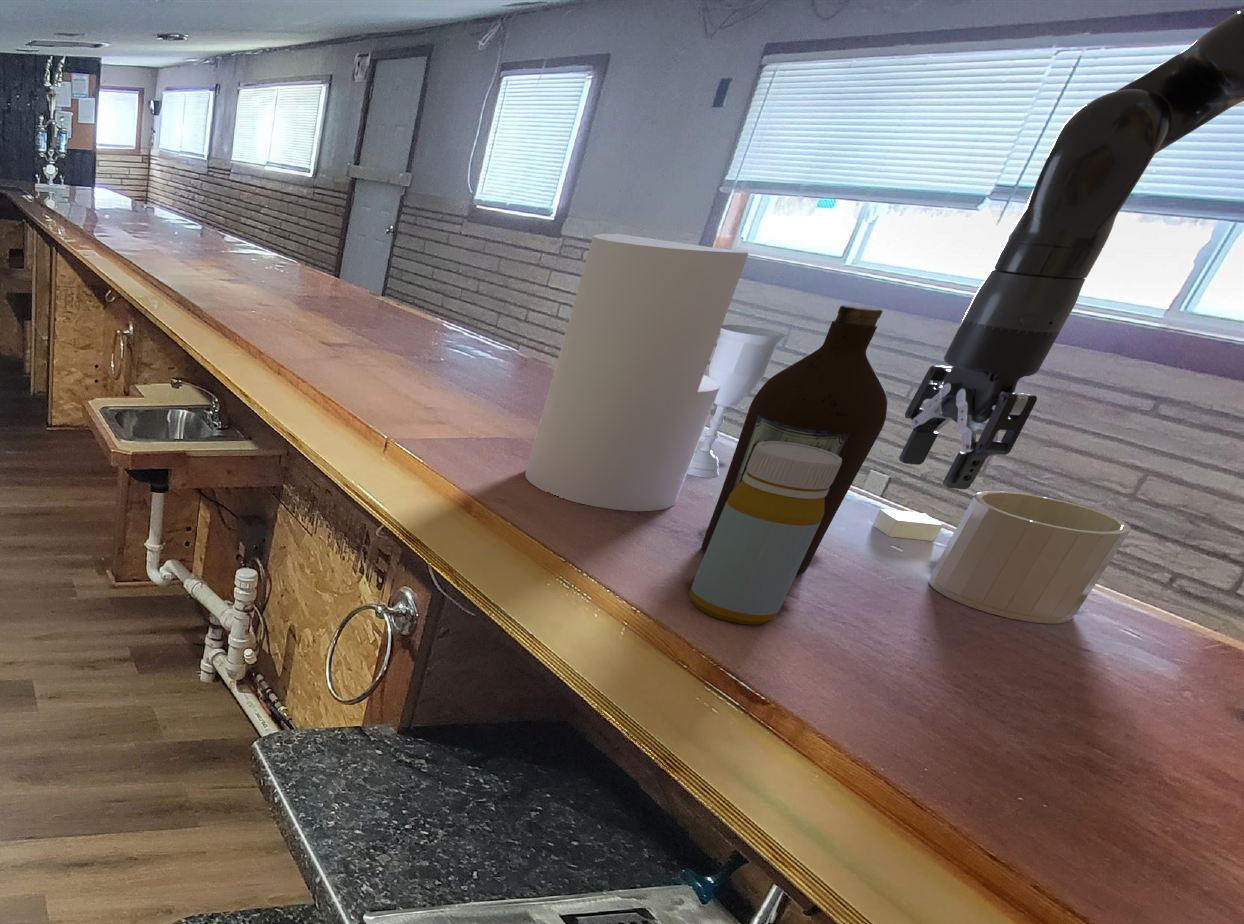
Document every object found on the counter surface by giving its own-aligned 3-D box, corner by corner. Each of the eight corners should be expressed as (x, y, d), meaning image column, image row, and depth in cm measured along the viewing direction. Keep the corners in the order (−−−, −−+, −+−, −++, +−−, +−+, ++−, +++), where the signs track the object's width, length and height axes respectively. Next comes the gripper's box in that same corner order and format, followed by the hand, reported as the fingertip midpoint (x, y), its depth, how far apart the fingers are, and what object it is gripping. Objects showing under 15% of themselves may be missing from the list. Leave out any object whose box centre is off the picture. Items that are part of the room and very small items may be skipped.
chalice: (741, 479, 118) (800, 336, 109) (697, 481, 116) (753, 336, 107) (697, 461, 124) (750, 324, 115) (655, 463, 123) (705, 324, 114)
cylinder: (593, 516, 104) (682, 252, 90) (495, 467, 118) (559, 233, 104) (710, 505, 108) (812, 253, 94) (602, 460, 123) (677, 234, 109)
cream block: (916, 529, 104) (925, 513, 103) (934, 541, 101) (943, 524, 100) (871, 525, 105) (880, 508, 104) (888, 536, 102) (897, 520, 101)
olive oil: (712, 531, 101) (809, 294, 89) (824, 562, 94) (945, 311, 82) (679, 555, 95) (778, 303, 82) (796, 590, 88) (923, 322, 76)
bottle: (767, 602, 85) (838, 447, 78) (780, 634, 80) (858, 470, 72) (683, 586, 88) (744, 435, 80) (690, 616, 82) (757, 456, 75)
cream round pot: (1024, 581, 92) (1075, 498, 88) (1102, 630, 83) (1163, 540, 79) (905, 568, 94) (949, 485, 90) (969, 614, 85) (1021, 525, 80)
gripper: (1107, 338, 85) (1011, 501, 93) (1008, 312, 97) (931, 459, 105) (1016, 331, 86) (929, 492, 94) (930, 307, 98) (860, 452, 106)
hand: (931, 474), depth 100 cm, fingers open, 8 cm apart
